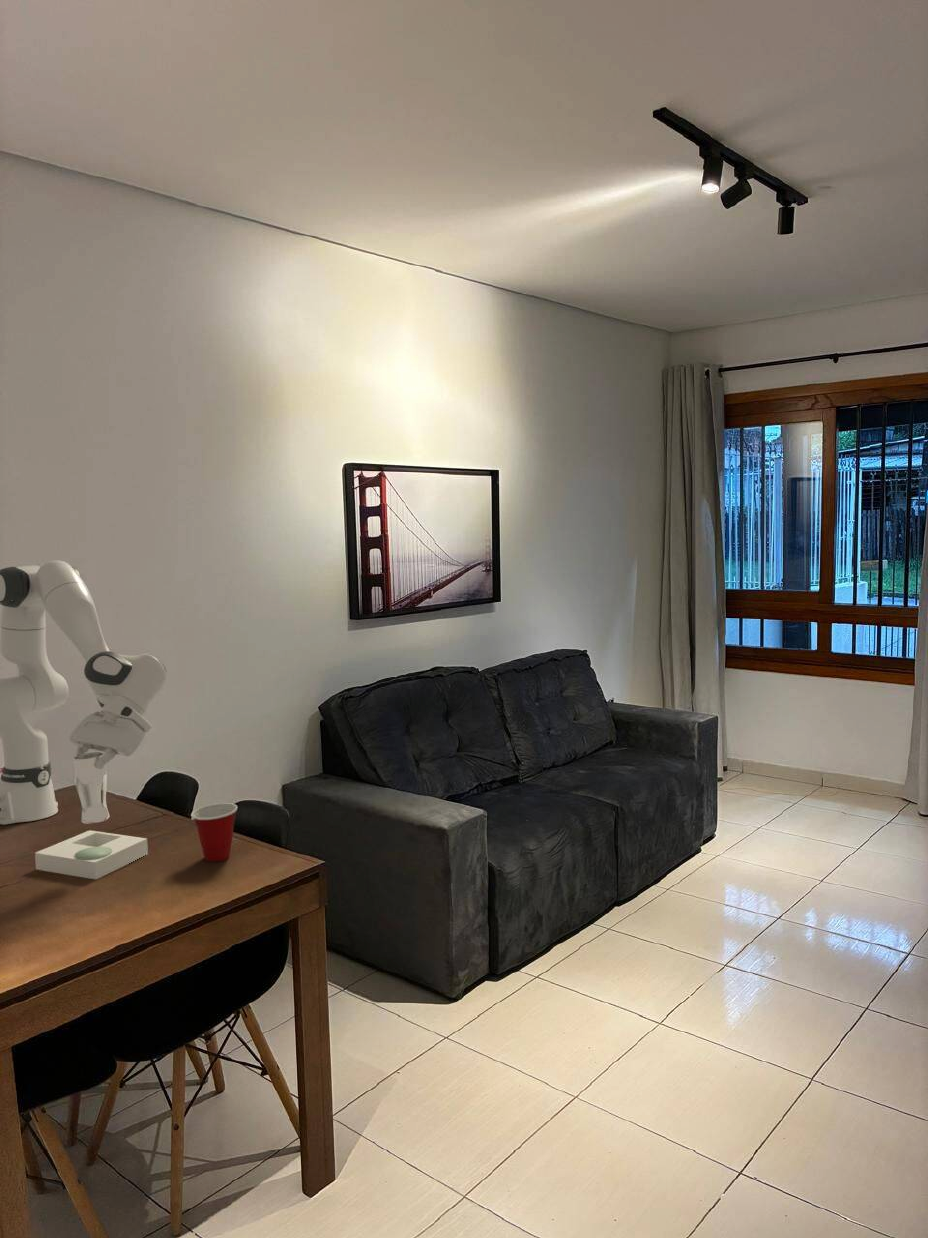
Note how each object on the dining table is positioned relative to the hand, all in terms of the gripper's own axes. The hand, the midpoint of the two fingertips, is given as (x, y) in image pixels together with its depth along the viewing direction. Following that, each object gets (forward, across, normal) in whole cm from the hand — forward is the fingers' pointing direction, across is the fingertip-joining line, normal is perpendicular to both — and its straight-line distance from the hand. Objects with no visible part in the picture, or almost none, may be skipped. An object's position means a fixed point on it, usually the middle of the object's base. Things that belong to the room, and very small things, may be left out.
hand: (86, 765), depth 212 cm
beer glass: (+8, +1, +10) cm, 13 cm away
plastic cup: (+3, +18, +33) cm, 38 cm away
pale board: (+15, -5, +20) cm, 26 cm away
